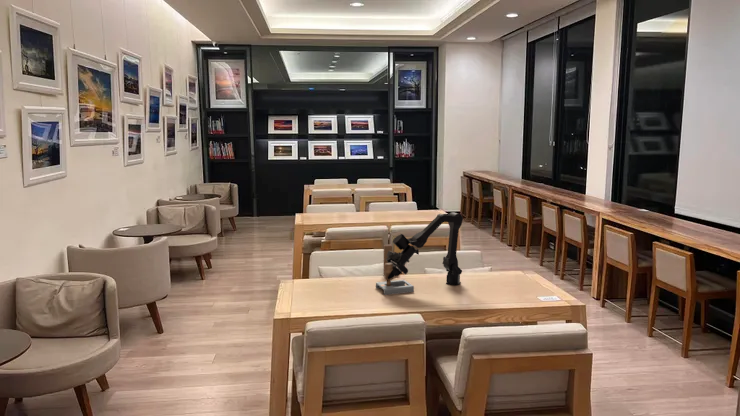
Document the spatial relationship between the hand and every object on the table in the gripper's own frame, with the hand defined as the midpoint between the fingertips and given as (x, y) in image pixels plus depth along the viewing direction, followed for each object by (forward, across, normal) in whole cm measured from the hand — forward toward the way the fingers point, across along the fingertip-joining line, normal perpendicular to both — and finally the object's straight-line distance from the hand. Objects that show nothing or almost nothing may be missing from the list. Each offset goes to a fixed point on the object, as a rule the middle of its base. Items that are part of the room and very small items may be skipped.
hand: (386, 277), depth 285 cm
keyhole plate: (+2, 0, +9) cm, 9 cm away
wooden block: (-4, -28, +15) cm, 32 cm away
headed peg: (+4, 0, +6) cm, 7 cm away
